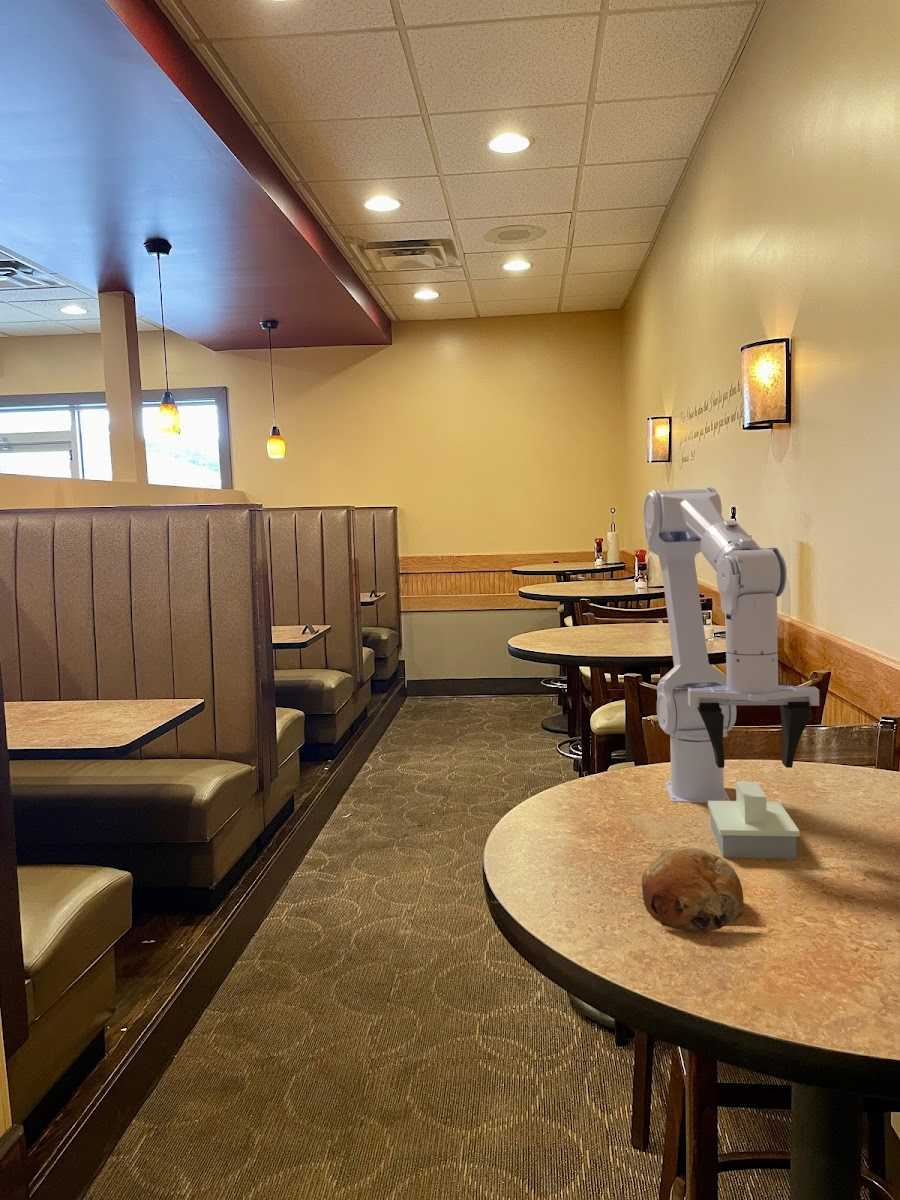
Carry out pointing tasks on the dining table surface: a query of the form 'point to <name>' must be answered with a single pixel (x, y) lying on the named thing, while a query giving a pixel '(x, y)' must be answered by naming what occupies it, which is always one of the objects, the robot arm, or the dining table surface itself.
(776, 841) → the box
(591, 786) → the dining table surface
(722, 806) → the lid
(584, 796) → the dining table surface
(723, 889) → the bread roll
